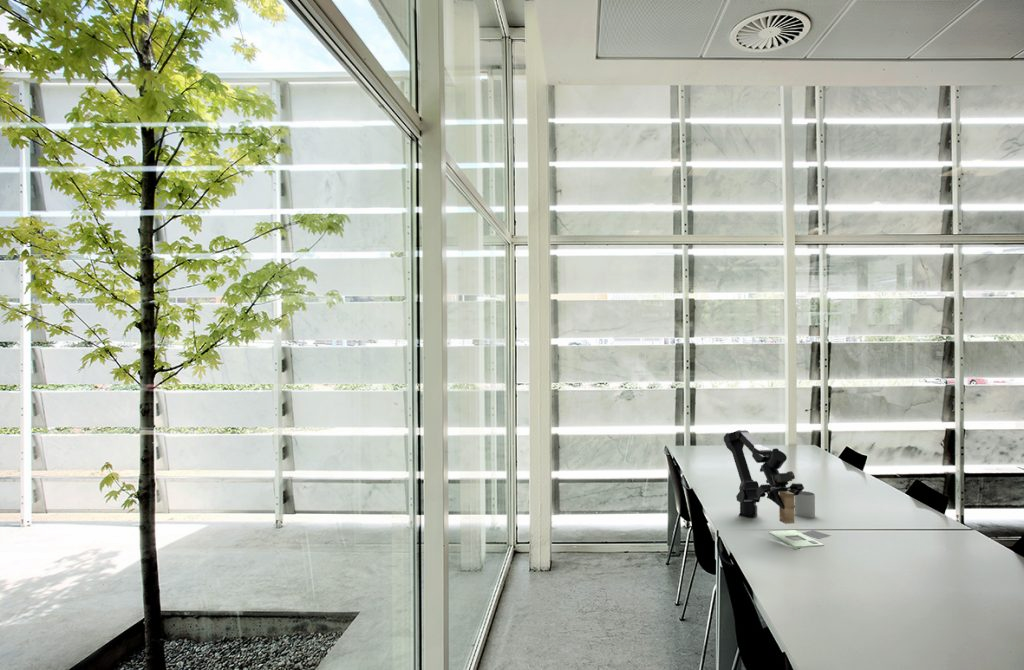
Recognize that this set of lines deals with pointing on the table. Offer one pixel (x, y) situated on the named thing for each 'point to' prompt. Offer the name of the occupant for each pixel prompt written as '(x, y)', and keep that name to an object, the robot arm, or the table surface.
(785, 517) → the post
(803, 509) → the cup
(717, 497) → the table surface
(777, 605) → the table surface
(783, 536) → the flange plate
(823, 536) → the pad
